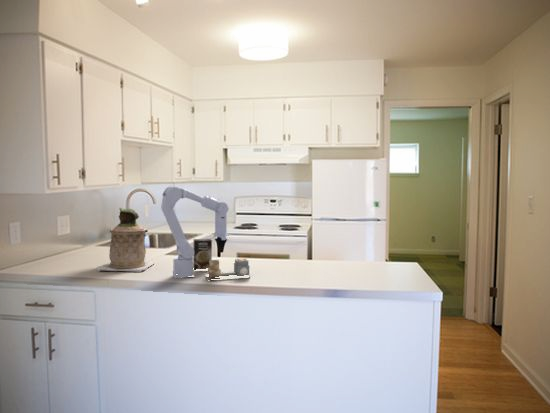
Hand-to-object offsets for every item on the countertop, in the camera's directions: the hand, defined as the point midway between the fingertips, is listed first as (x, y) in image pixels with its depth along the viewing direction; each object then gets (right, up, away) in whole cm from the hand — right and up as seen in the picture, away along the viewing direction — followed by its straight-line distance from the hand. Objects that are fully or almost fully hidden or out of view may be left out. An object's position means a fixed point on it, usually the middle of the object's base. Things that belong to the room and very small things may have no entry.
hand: (220, 252), depth 206 cm
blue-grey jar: (+11, -10, -7) cm, 17 cm away
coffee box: (-10, -10, +6) cm, 16 cm away
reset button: (+11, -5, -7) cm, 14 cm away
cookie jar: (-51, -9, +11) cm, 53 cm away
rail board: (+4, -11, -8) cm, 14 cm away
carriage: (-2, -9, -12) cm, 15 cm away
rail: (+2, -11, -10) cm, 15 cm away
